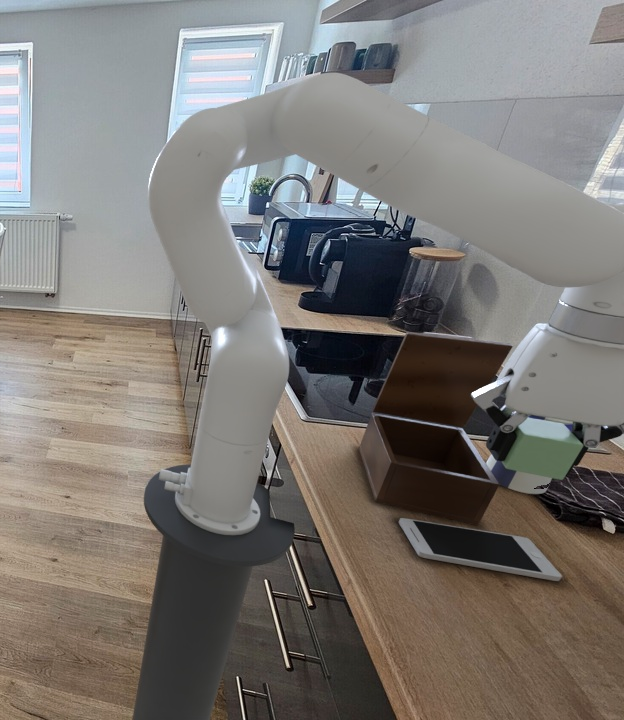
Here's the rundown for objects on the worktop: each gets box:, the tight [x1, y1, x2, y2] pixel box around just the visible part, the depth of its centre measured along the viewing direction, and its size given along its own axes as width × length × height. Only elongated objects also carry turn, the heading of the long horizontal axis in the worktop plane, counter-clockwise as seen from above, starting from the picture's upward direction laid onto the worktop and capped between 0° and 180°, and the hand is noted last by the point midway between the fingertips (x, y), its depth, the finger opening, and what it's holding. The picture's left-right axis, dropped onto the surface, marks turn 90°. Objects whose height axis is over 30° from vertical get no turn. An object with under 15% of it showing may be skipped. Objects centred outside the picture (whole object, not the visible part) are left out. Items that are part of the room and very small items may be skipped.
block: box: [501, 418, 583, 481], centre depth 60 cm, size 5×5×5 cm
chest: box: [358, 412, 501, 526], centre depth 81 cm, size 16×13×8 cm
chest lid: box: [372, 331, 514, 428], centre depth 82 cm, size 16×13×5 cm
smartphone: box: [398, 517, 563, 582], centre depth 70 cm, size 7×15×1 cm, turn 73°
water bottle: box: [485, 415, 573, 495], centre depth 78 cm, size 8×9×25 cm
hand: (526, 459), depth 61 cm, fingers closed on block, 5 cm apart
